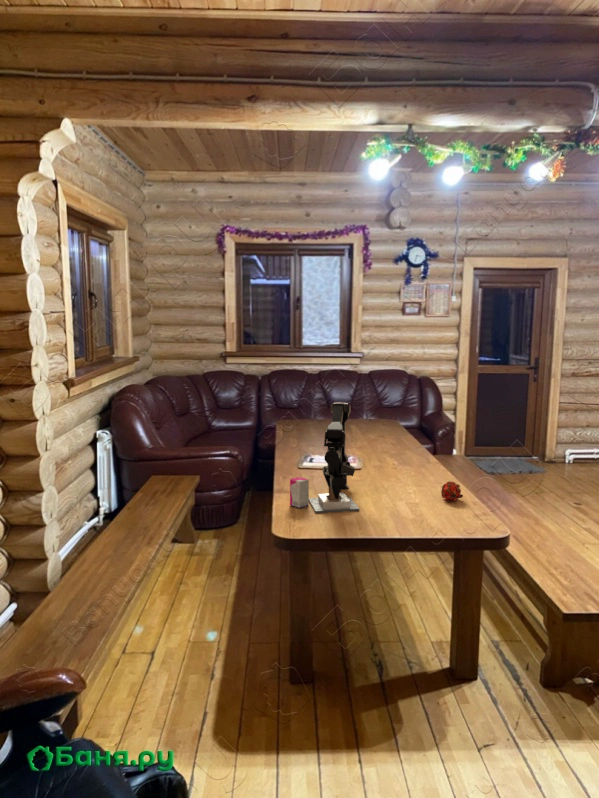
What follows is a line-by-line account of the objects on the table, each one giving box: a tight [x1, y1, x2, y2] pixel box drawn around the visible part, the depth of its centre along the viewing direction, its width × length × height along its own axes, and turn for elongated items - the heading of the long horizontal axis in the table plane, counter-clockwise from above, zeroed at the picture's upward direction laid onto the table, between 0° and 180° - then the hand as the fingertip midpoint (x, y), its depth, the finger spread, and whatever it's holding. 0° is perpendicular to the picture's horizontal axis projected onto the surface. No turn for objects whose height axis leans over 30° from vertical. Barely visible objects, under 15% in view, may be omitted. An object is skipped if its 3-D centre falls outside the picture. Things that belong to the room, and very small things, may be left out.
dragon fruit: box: [440, 481, 464, 503], centre depth 240 cm, size 8×8×12 cm
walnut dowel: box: [328, 487, 339, 500], centre depth 231 cm, size 4×4×7 cm
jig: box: [309, 492, 360, 514], centre depth 232 cm, size 16×18×4 cm
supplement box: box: [289, 476, 310, 509], centre depth 232 cm, size 6×6×12 cm
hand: (334, 495), depth 231 cm, fingers open, 9 cm apart
